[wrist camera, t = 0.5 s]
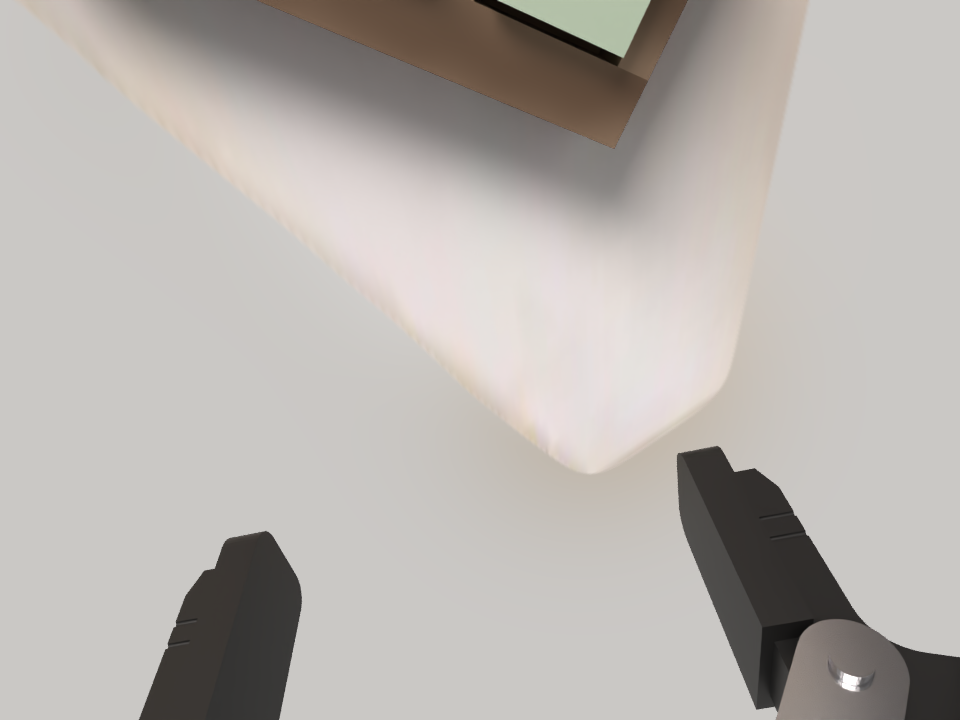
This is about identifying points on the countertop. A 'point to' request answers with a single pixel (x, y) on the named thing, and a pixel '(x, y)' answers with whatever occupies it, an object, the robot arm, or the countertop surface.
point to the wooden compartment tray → (507, 54)
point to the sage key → (590, 19)
